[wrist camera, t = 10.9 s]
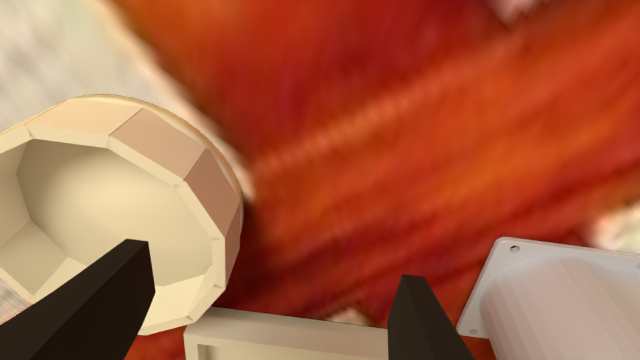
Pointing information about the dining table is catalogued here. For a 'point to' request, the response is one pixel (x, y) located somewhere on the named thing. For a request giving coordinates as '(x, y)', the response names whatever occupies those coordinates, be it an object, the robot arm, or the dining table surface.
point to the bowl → (118, 202)
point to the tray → (279, 338)
